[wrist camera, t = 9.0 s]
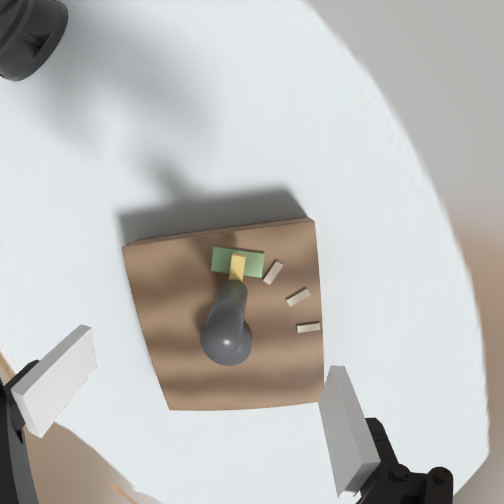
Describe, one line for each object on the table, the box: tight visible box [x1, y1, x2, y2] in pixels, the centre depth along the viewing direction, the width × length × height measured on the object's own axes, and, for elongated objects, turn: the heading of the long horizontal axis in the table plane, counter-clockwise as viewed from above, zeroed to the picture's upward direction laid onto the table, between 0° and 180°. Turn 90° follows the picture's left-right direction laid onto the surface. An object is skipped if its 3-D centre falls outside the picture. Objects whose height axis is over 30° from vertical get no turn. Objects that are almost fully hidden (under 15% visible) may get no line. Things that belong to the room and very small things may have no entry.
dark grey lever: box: [200, 253, 252, 366], centre depth 25 cm, size 5×12×11 cm, turn 172°
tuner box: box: [122, 217, 324, 411], centre depth 33 cm, size 22×20×4 cm
